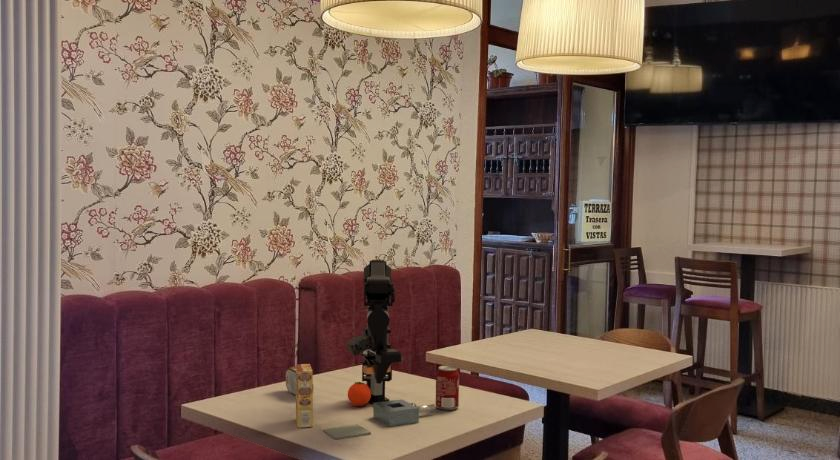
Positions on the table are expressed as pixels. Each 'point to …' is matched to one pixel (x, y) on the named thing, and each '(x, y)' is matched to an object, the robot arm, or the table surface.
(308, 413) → the candy box
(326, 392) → the table surface
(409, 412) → the block
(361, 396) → the clementine
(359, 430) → the mat
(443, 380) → the soda can
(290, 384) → the tin
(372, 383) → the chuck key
